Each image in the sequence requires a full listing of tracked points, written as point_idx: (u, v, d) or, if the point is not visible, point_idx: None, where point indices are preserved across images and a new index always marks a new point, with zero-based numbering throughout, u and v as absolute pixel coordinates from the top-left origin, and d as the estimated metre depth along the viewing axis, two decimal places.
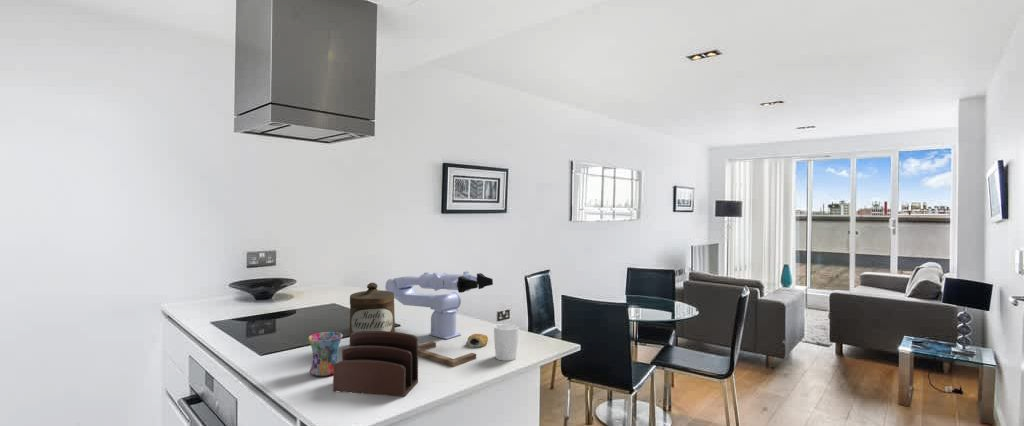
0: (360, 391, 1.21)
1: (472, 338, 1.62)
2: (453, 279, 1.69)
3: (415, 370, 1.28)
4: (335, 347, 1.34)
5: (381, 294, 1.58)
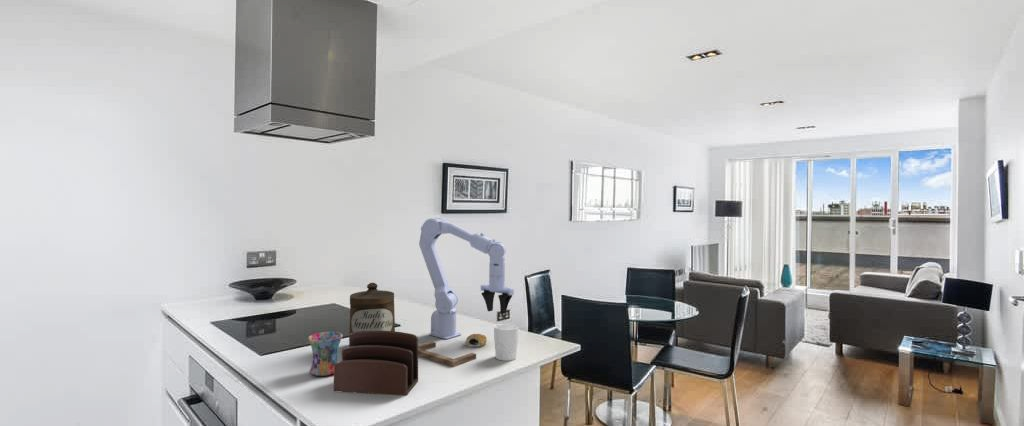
0: (362, 391, 1.21)
1: (471, 338, 1.62)
2: (504, 277, 1.72)
3: (416, 369, 1.29)
4: (335, 347, 1.34)
5: (381, 294, 1.58)
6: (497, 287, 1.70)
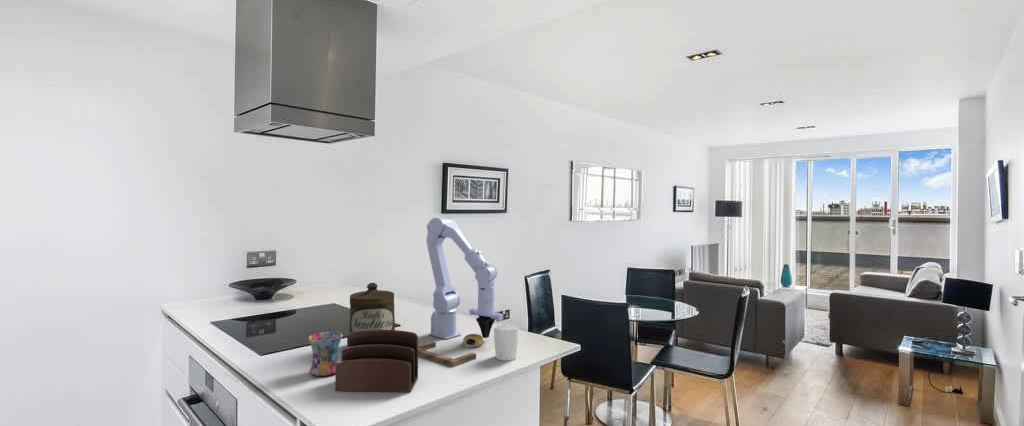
0: (364, 390, 1.22)
1: (468, 338, 1.61)
2: (493, 301, 1.67)
3: (416, 367, 1.31)
4: (335, 347, 1.34)
5: (381, 294, 1.58)
6: (486, 312, 1.65)
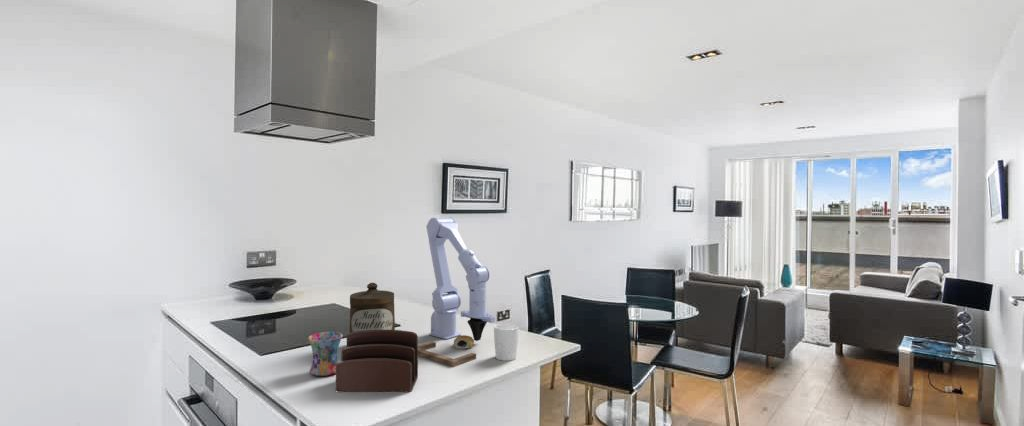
0: (365, 390, 1.22)
1: (459, 340, 1.59)
2: (485, 303, 1.64)
3: (416, 366, 1.31)
4: (335, 347, 1.34)
5: (381, 294, 1.58)
6: (477, 314, 1.62)
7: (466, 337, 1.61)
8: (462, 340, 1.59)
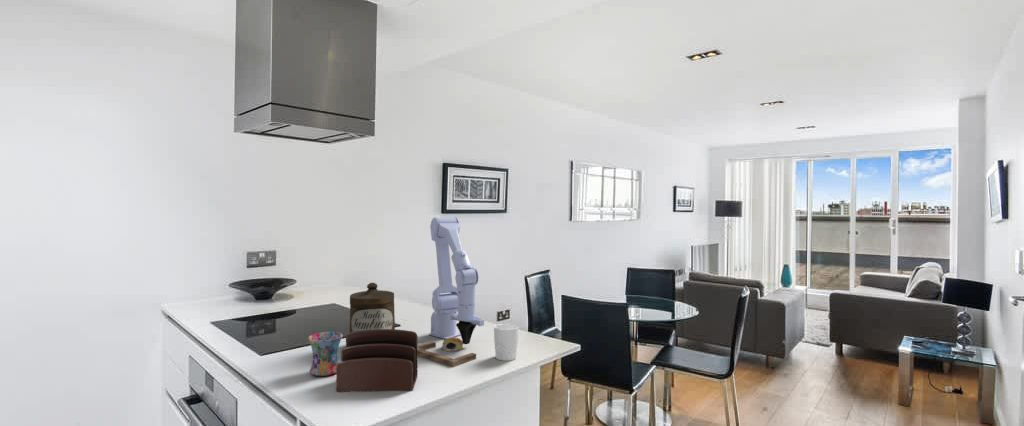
0: (366, 389, 1.22)
1: (448, 342, 1.57)
2: (474, 306, 1.60)
3: (415, 365, 1.32)
4: (335, 347, 1.34)
5: (381, 294, 1.58)
6: (466, 317, 1.57)
7: (455, 339, 1.59)
8: (451, 342, 1.57)
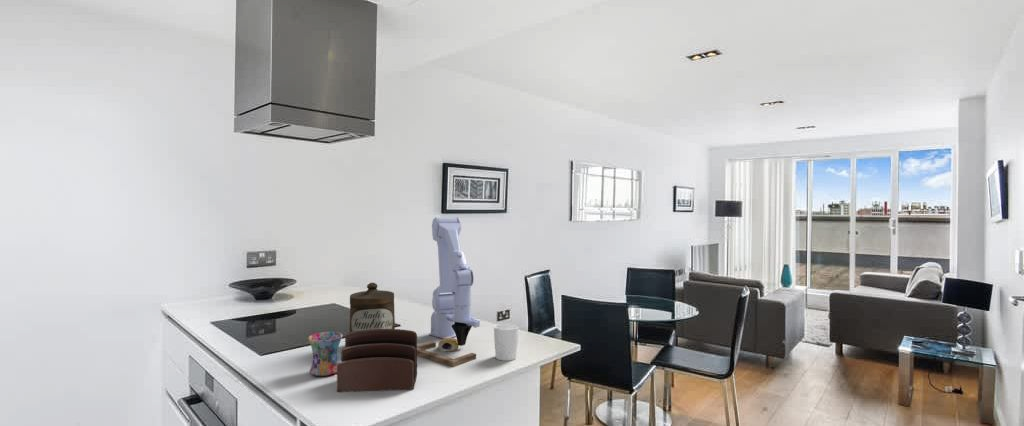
0: (367, 389, 1.22)
1: (444, 342, 1.56)
2: None
3: None
4: (335, 347, 1.34)
5: (381, 294, 1.58)
6: (462, 318, 1.56)
7: (451, 339, 1.59)
8: (447, 342, 1.56)
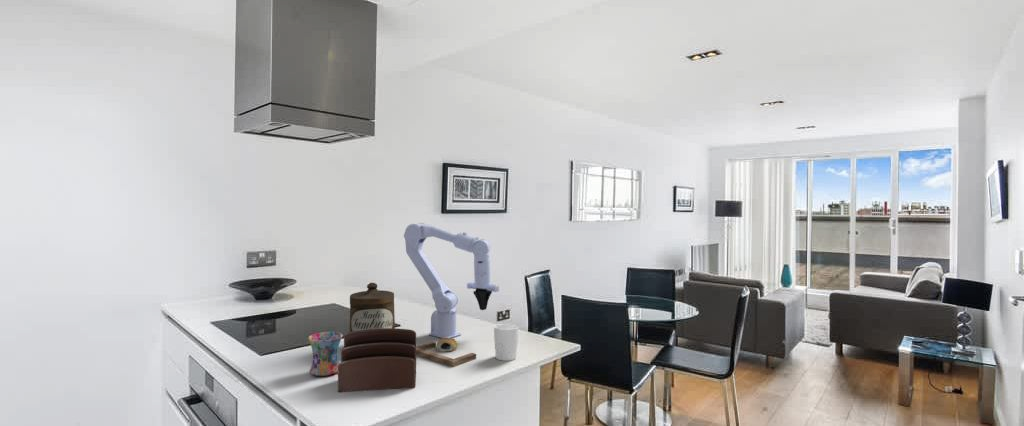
0: (368, 388, 1.23)
1: (443, 342, 1.56)
2: (489, 274, 1.72)
3: None
4: (335, 347, 1.34)
5: (381, 294, 1.58)
6: (482, 284, 1.70)
7: (449, 339, 1.58)
8: (445, 342, 1.56)
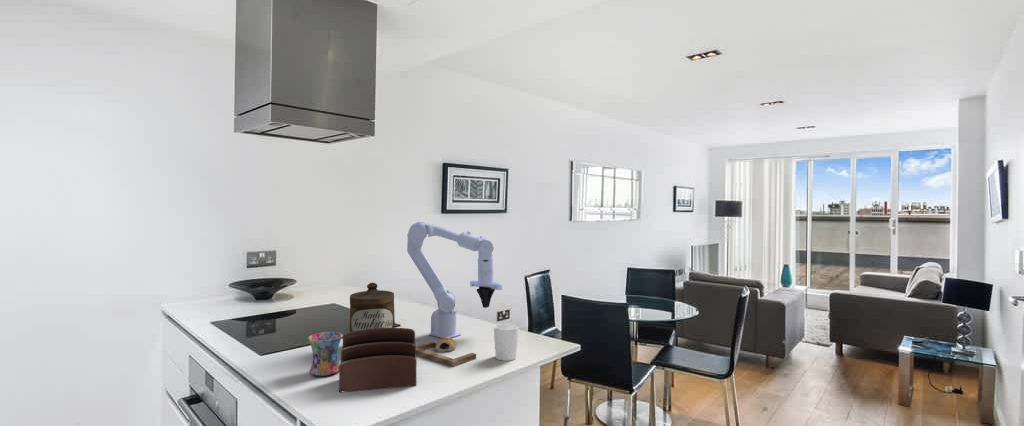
0: (370, 387, 1.23)
1: (442, 342, 1.56)
2: (492, 273, 1.76)
3: None
4: (335, 347, 1.34)
5: (381, 294, 1.58)
6: (486, 282, 1.73)
7: (448, 339, 1.58)
8: (444, 343, 1.56)
